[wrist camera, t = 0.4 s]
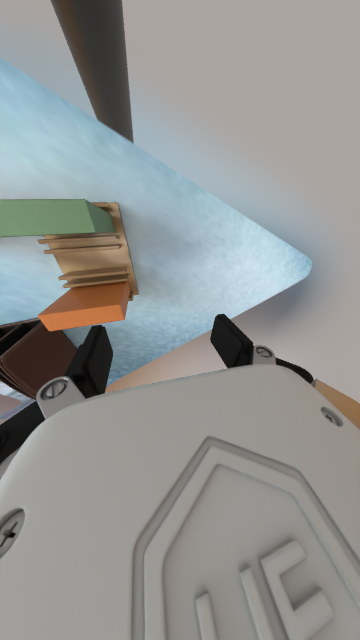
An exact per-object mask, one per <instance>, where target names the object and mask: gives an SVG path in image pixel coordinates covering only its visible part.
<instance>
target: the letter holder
mask: <svg viewBox="0 0 360 640" xmlns="http://www.w3.org/2000/svg"><path fill="white" fill-rule="evenodd" d="M76 351H77V349H76V348H75V347H74V346H73V344H72V343H71V342H70V341H69V339H68V338H67V337H66V336H65V334H64V333H63V332H62V331H61V330H56V331H48V329H47V328H46V327H45V325H44V324H43V323H42V321H41V320H40V319H39V318H36V319H31V320H25V321H20V322H15V323H10V324H5V325H1V326H0V381H2V382H3V383H5V384H6V385H8V386H9V387H11V388H12V389H14V390H16V391H17V392H19V393H21V394H23V395H25V396H27V397H29V398H31V399H34V400H36V395H37V392H38V391H39V390H40V388H41V387H42V386H43V385H45V384H46V383H47V382H49V381H50V380H52V379H54V378H57V377H61V376H64V374H65V372H66V370H67V368H68V367H69V365H70V363H71V361H72V359H73V357H74V355H75V353H76Z"/></svg>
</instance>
